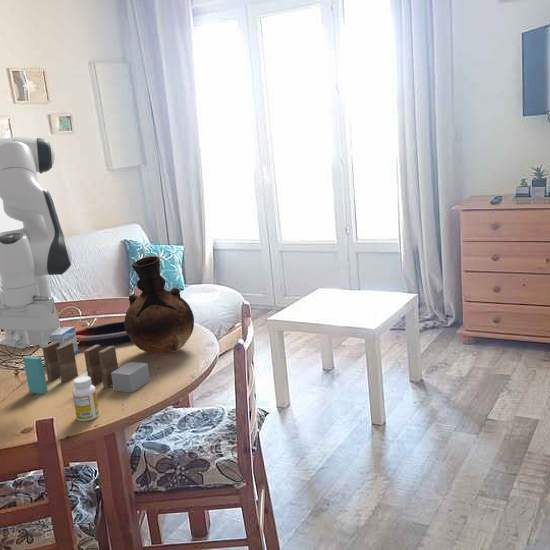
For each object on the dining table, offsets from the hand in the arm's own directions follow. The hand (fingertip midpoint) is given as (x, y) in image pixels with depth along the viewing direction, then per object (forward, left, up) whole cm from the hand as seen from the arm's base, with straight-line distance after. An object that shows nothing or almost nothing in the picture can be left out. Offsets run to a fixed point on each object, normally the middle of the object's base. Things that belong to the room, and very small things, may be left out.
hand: (31, 345), depth 169 cm
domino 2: (-3, +10, -13) cm, 17 cm away
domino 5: (+17, +10, -13) cm, 24 cm away
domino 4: (+12, +10, -13) cm, 20 cm away
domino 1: (0, 0, -13) cm, 13 cm away
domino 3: (+2, +10, -13) cm, 17 cm away
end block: (+23, +10, -13) cm, 29 cm away
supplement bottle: (+25, -9, -14) cm, 30 cm away
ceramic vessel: (+17, +35, -14) cm, 41 cm away
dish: (-9, +42, -14) cm, 45 cm away
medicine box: (-13, +25, -14) cm, 31 cm away
